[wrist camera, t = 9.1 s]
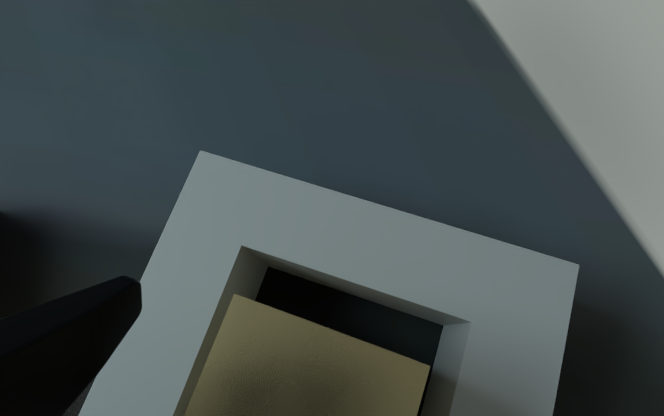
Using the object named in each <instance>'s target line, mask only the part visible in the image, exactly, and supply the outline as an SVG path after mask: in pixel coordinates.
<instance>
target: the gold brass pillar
mask: <svg viewBox="0 0 664 416" xmlns="http://www.w3.org/2000/svg"><path fill="white" fill-rule="evenodd" d="M429 370H430V366H429V365H426V364H424V363H421V362H418V361H416V360H413V359H411V358H408V357H406V356H403V355H401V354H398V353H396V352H393V351H390V350H388V349H385V348H382V347H379V346H377V345H374V344H371V343H369V342H366V341H363V340H361V339H358V338H355V337H352V336H350V335H347V334H344V333H342V332H339V331H336V330H334V329H331V328H328V327H325V326H323V325H320V324H317V323H315V322H312V321H309V320H307V319H304V318H301V317H298V316H296V315H293V314H290V313H287V312H285V311H282V310H279V309H276V308H273V307H271V306H268V305H265V304H262V303H259V302H257V301H254V300H251V299H248V298H245V297H242V296H240V295H237V294H234V295H233V298H232V300H231V302H230V305H229V307H228V310H227V312H226V315H225V317H224V319H223V322H222V324H221V327H220V329H219V332H218V334H217V336H216V339H215V341H214V344H213V346H212V349H211V351H210V353H209V356H208V358H207V361H206V363H205V366H204V368H203V370H202V373H201V375H200V378H199V380H198V383H197V385H196V387H195V390H194V392H193V395H192V397H191V400H190V402H189V404H188V407H187V409H186V412H185V414H184V416H417V413H418V410H419V406H420V402H421V399H422V395H423V391H424V388H425V384H426V381H427V377H428V373H429Z"/></svg>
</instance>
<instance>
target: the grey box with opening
mask: <svg viewBox="0 0 664 416" xmlns="http://www.w3.org/2000/svg"><path fill="white" fill-rule="evenodd" d="M268 267H271V268H274V269H277V270H280V271H283V272H286V273H289V274H292V275H295V276H298V277H301V278H304V279H307V280H310V281H313V282H316V283H319V284H321V285H324V286H327V287H330V288H333V289H336V290H339V291H342V292H345V293H348V294H351V295H354V296H357V297H360V298H363V299H366V300H369V301H372V302H375V303H378V304H381V305H384V306H387V307H390V308H393V309H396V310H398V311H401V312H404V313H407V314H410V315H413V316H416V317H419V318H422V319H425V320H428V321H431V322H434V323H437V324H440V325H443V330H442V334H441V337H440V341H439V345H438V349H437V353H436V357H435V361H434V365H433V369H432V373H431V376H430V380H429V384H428V388H427V392H426V396H425V400H424V404H423V408H422V411H421V415H420V416H553V410H554V405H555V399H556V394H557V388H558V382H559V377H560V371H561V366H562V360H563V354H564V349H565V343H566V337H567V332H568V326H569V321H570V315H571V309H572V304H573V298H574V293H575V287H576V281H577V276H578V270H579V265H578V264H575V263H572V262H568V261H565V260H562V259H558V258H555V257H552V256H548V255H545V254H542V253H538V252H535V251H532V250H529V249H525V248H522V247H519V246H515V245H512V244H509V243H505V242H502V241H499V240H495V239H492V238H489V237H485V236H482V235H479V234H476V233H472V232H469V231H466V230H462V229H459V228H456V227H452V226H449V225H446V224H442V223H439V222H436V221H432V220H429V219H426V218H423V217H419V216H416V215H413V214H409V213H406V212H403V211H399V210H396V209H393V208H389V207H386V206H383V205H380V204H376V203H373V202H370V201H366V200H363V199H360V198H356V197H353V196H350V195H346V194H343V193H340V192H336V191H333V190H330V189H327V188H323V187H320V186H317V185H313V184H310V183H307V182H303V181H300V180H297V179H293V178H290V177H287V176H283V175H280V174H277V173H274V172H270V171H267V170H264V169H260V168H257V167H254V166H250V165H247V164H244V163H240V162H237V161H234V160H230V159H227V158H224V157H221V156H217V155H214V154H211V153H207V152H204V151H201V150H200V152H199V154H198V157H197V159H196V161H195V163H194V165H193V167H192V170H191V172H190V174H189V176H188V178H187V180H186V183H185V185H184V187H183V189H182V191H181V194H180V196H179V198H178V200H177V202H176V204H175V207H174V209H173V211H172V213H171V215H170V217H169V220H168V222H167V224H166V226H165V228H164V231H163V233H162V235H161V237H160V239H159V241H158V244H157V246H156V248H155V250H154V252H153V254H152V257H151V259H150V261H149V263H148V265H147V268H146V270H145V272H144V274H143V276H142V278H141V281H140V283H141V289H142V310H141V313H140V315H139V317H138V318H137V320H136V321H135V323H134V324H133V326H132V327H131V328H130V330H129V331H128V333H127V334H126V336H125V337H124V338H123V340H122V341H121V343H120V344H119V345H118V347H117V348H116V350H115V351H114V353H113V354H112V355H111V357H110V358H109V360H108V361H107V363H106V364H105V365H104V367H103V368H102V369H101V371H100V372H99V373H98V374H97V376H96V379H95V381H94V383H93V385H92V387H91V389H90V392H89V394H88V396H87V398H86V400H85V402H84V405H83V407H82V409H81V411H80V413H79V416H184V414H185V412H186V409H187V407H188V404H189V402H190V400H191V397H192V395H193V392H194V390H195V387H196V385H197V383H198V380H199V378H200V375H201V373H202V370H203V368H204V366H205V363H206V361H207V358H208V356H209V353H210V351H211V349H212V346H213V344H214V341H215V339H216V336H217V334H218V332H219V329H220V327H221V324H222V322H223V319H224V317H225V315H226V312H227V310H228V307H229V305H230V302H231V300H232V298H233V295H234V294H237V295H240V296H242V297H245V298H248V299H251V300H254V301H255V300H256V297H257V294H258V292H259V289H260V287H261V284H262V281H263V279H264V276H265V273H266V271H267V268H268Z"/></svg>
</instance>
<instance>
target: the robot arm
mask: <svg viewBox="0 0 664 416" xmlns="http://www.w3.org/2000/svg"><path fill="white" fill-rule="evenodd" d="M141 310H142V289H141V283H140V282H139V281H138V280H136V279H133V278H130V277H127V276H120V277H117V278H114V279H112V280H109V281H106V282H103V283H100V284H97V285H94V286H92V287H89V288H86V289H83V290H80V291H77V292H75V293H72V294H69V295H66V296H63V297H60V298H57V299H55V300H52V301H49V302H46V303H43V304H40V305H38V306H35V307H32V308H29V309H26V310H23V311H20V312H18V313H15V314H12V315H9V316H6V317H3V318H1V319H0V416H63V414H64V413H65V412H66V411H67V410H68V409H69V407H70V406H71V405H72V404H73V403H74V402H75V400H76V399H77V398H78V397H79V396H80V395H81V393H82V392H83V391H84V390H85V389H86V388H87V386H88V385H89V384H90V383H91V382H92V381H93V379H94V378H95V377H96V376H97V374H98V373H99V372H100V371H101V369H102V368H103V367H104V365H105V364H106V363H107V361H108V360H109V358H110V357H111V355H112V354H113V353H114V351H115V350H116V348H117V347H118V345H119V344H120V343H121V341H122V340H123V338H124V337H125V336H126V334H127V333H128V331H129V330H130V328H131V327H132V326H133V324H134V323H135V321H136V320H137V318H138V317H139V315H140V313H141Z"/></svg>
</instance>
